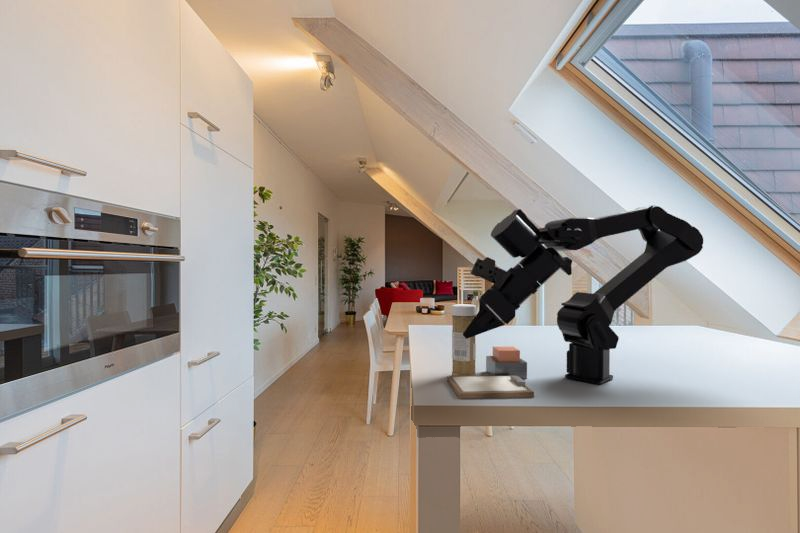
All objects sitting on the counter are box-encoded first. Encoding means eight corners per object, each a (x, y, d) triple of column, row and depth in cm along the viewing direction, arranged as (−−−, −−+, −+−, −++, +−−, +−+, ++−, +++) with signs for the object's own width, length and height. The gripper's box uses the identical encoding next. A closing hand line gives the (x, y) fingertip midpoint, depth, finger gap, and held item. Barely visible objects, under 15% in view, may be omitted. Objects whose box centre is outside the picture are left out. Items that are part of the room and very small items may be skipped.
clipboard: (512, 379, 81) (512, 371, 81) (533, 397, 71) (534, 387, 71) (447, 380, 80) (447, 372, 80) (459, 398, 70) (459, 388, 70)
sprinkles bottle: (480, 376, 84) (481, 304, 84) (465, 380, 81) (466, 306, 80) (461, 372, 87) (461, 303, 87) (446, 376, 84) (446, 304, 84)
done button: (512, 361, 87) (512, 346, 87) (519, 366, 83) (519, 350, 83) (492, 362, 87) (492, 346, 87) (498, 366, 83) (498, 350, 83)
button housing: (515, 370, 88) (516, 355, 88) (526, 378, 82) (527, 362, 82) (486, 371, 88) (486, 355, 88) (495, 379, 82) (495, 362, 82)
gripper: (499, 244, 91) (445, 297, 94) (494, 240, 73) (427, 305, 76) (539, 284, 89) (483, 337, 92) (545, 289, 71) (474, 354, 74)
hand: (467, 332), depth 83 cm, fingers open, 9 cm apart
